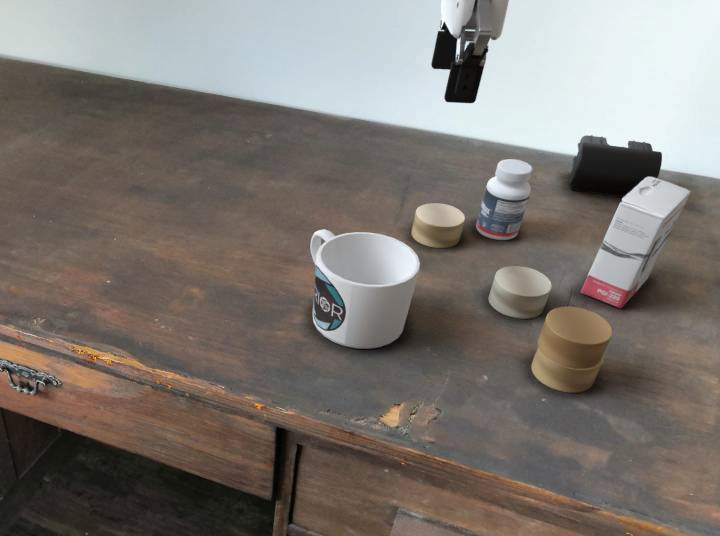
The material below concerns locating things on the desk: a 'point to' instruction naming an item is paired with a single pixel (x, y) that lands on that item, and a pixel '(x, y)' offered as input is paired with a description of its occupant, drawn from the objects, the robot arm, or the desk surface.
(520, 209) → the pill bottle
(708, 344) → the desk surface
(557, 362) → the chip pile
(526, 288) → the ash chip
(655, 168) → the end cap
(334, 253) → the mug
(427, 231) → the maple chip
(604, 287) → the ink box
